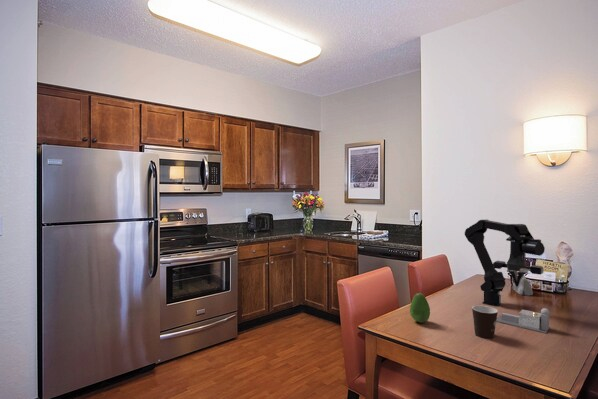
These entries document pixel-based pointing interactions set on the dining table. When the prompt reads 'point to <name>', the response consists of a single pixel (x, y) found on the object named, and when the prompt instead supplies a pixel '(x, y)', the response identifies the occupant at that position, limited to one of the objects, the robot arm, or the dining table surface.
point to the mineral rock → (523, 287)
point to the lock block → (530, 319)
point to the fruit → (419, 308)
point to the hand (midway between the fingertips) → (517, 286)
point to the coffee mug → (484, 321)
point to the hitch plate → (514, 321)
